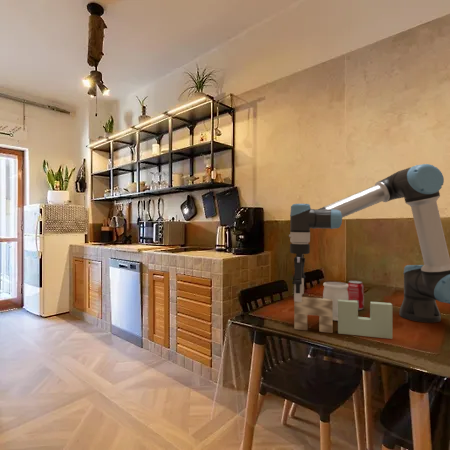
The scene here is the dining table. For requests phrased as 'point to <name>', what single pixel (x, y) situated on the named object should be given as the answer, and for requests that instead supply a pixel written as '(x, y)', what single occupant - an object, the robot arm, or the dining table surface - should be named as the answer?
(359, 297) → the soda can
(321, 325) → the wooden arch block
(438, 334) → the dining table surface
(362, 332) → the notched green slab
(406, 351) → the dining table surface
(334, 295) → the jar
